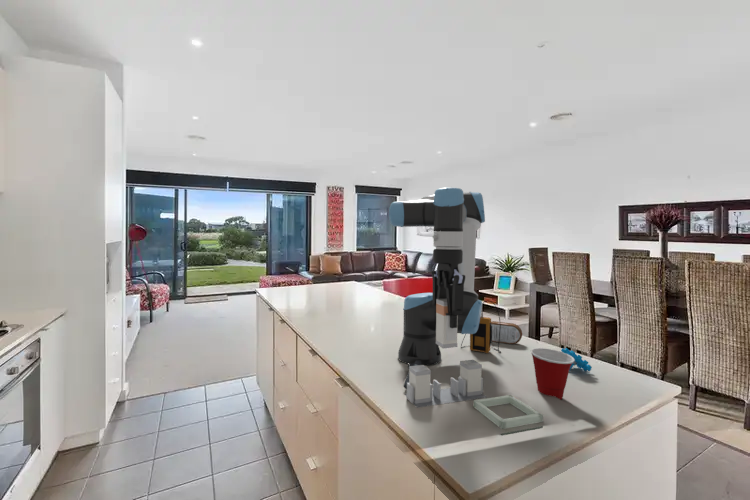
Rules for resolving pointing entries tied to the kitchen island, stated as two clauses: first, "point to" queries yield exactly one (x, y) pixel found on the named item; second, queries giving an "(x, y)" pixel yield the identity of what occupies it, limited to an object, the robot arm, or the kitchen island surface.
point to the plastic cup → (551, 370)
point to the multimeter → (483, 335)
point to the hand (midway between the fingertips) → (446, 337)
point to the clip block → (445, 393)
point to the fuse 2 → (442, 325)
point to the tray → (509, 422)
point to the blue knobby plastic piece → (577, 360)
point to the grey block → (420, 383)
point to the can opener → (408, 373)
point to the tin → (506, 332)
